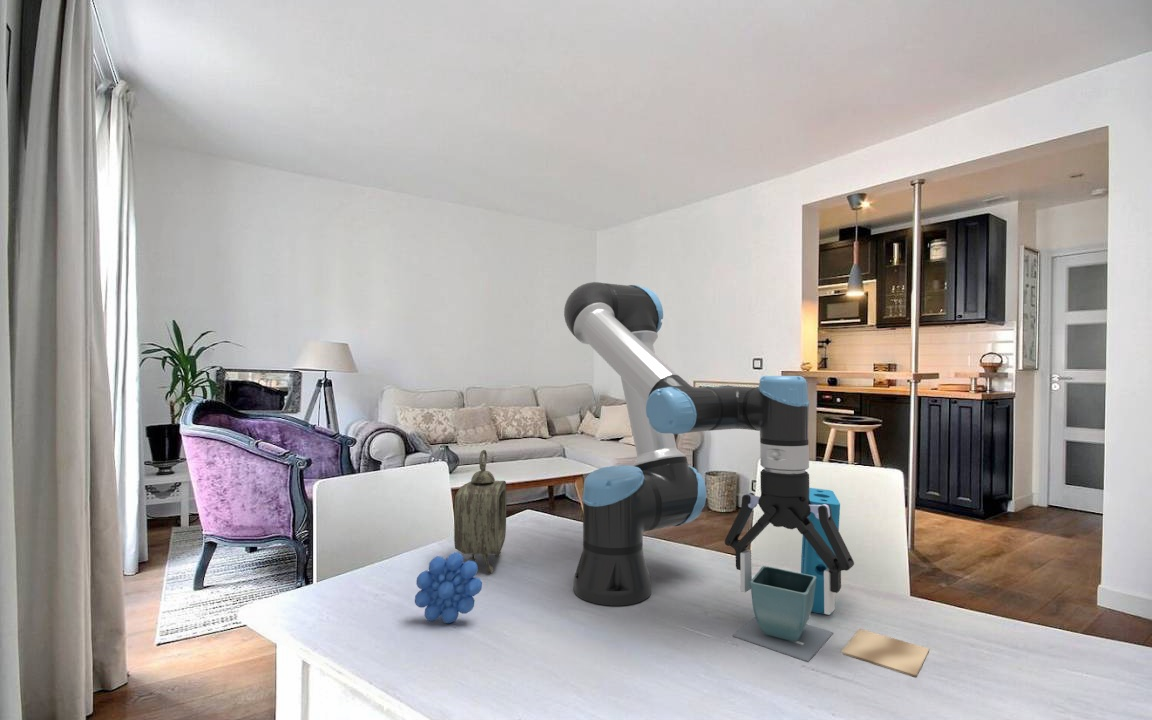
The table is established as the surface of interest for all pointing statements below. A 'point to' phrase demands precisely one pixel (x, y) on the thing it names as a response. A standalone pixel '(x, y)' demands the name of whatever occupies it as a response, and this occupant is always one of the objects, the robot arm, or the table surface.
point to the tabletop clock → (480, 515)
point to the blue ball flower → (448, 588)
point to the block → (809, 556)
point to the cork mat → (886, 652)
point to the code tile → (800, 649)
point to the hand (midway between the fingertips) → (785, 600)
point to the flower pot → (782, 601)
